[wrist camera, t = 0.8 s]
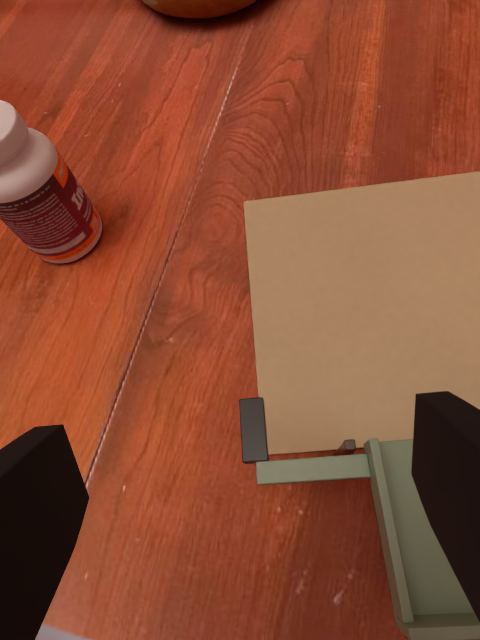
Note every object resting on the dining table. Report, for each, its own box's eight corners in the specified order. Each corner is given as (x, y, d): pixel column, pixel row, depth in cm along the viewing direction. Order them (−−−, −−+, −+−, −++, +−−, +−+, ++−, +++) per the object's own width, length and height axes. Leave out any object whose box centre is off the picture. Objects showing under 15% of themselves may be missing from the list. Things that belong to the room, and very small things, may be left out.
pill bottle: (117, 238, 34) (44, 126, 24) (52, 279, 33) (-53, 181, 23) (85, 195, 36) (6, 77, 26) (24, 232, 35) (-82, 125, 25)
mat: (607, 429, 23) (611, 428, 23) (263, 455, 25) (263, 454, 25) (495, 171, 32) (496, 168, 32) (243, 204, 34) (243, 201, 33)
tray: (657, 614, 15) (716, 631, 13) (254, 629, 17) (248, 647, 15) (559, 375, 20) (592, 358, 17) (240, 402, 21) (234, 390, 19)
